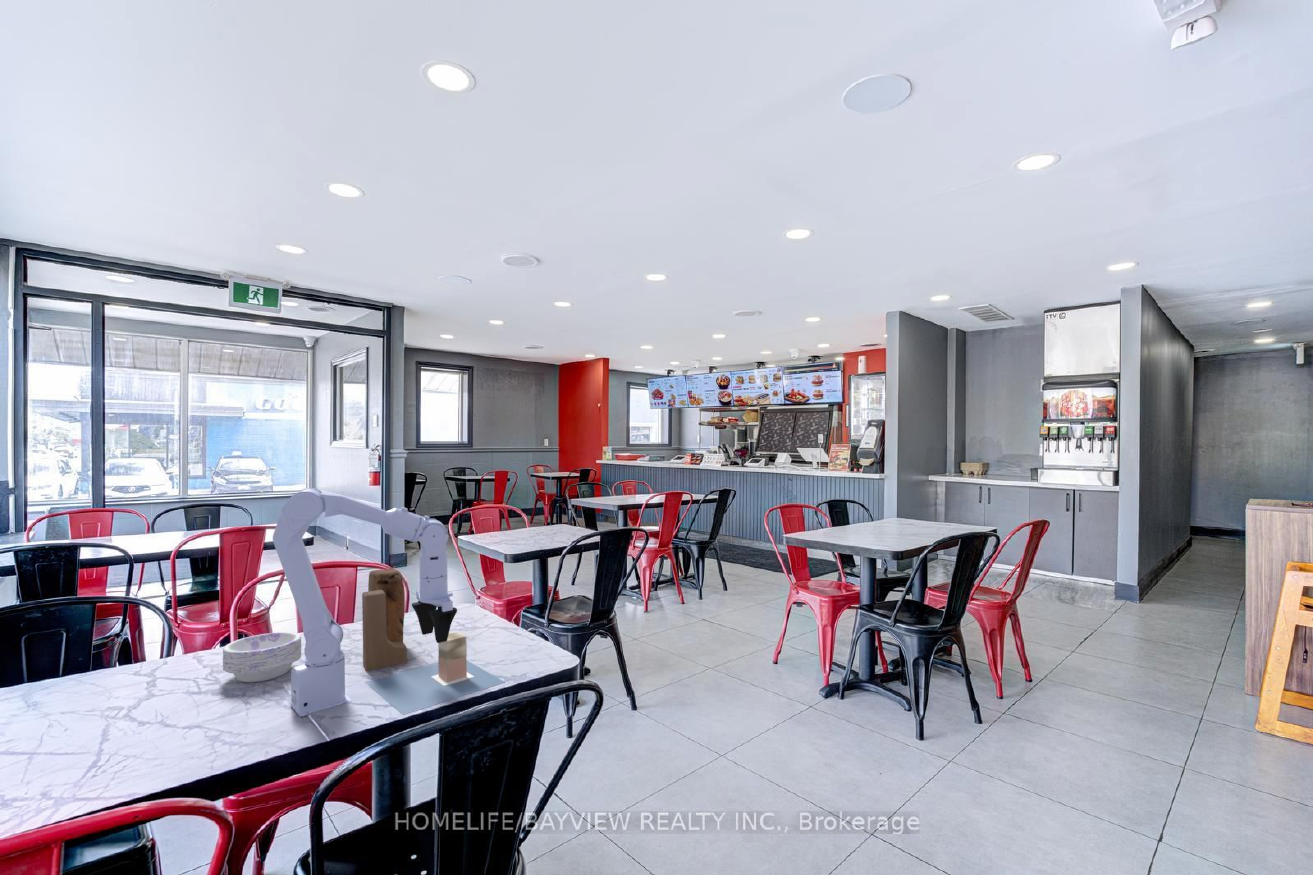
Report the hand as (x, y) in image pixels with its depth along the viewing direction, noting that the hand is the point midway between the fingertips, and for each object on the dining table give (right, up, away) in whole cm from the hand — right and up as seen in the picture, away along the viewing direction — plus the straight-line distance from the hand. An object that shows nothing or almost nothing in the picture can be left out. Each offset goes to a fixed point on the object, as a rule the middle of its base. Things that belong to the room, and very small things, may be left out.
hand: (434, 637), depth 133 cm
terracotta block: (+3, -10, +3) cm, 10 cm away
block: (-21, -11, +24) cm, 34 cm away
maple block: (+3, -5, +3) cm, 7 cm away
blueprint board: (0, -10, 0) cm, 10 cm away
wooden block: (-16, -11, +11) cm, 22 cm away
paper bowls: (-42, -11, +7) cm, 44 cm away
